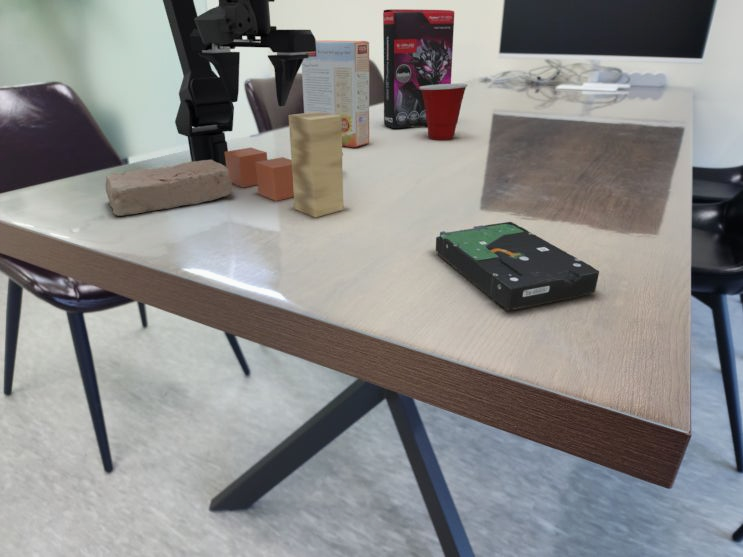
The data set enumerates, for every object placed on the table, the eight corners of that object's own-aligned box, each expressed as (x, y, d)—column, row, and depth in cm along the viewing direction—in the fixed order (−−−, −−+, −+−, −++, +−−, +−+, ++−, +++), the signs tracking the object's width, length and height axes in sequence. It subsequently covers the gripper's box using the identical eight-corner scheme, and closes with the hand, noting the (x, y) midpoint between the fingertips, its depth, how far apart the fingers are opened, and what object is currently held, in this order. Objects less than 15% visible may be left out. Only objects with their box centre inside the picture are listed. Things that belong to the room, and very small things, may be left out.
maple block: (294, 209, 72) (288, 115, 67) (322, 201, 75) (318, 111, 70) (315, 217, 69) (310, 119, 63) (343, 209, 72) (341, 115, 66)
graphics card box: (392, 130, 128) (394, 8, 116) (380, 125, 134) (381, 9, 122) (449, 125, 135) (457, 9, 122) (436, 121, 140) (442, 10, 128)
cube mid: (258, 193, 79) (255, 162, 77) (285, 187, 82) (282, 157, 80) (275, 201, 76) (272, 168, 73) (303, 194, 79) (301, 162, 76)
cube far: (228, 181, 85) (224, 151, 83) (254, 176, 88) (251, 147, 86) (242, 187, 82) (239, 156, 80) (269, 182, 85) (266, 152, 83)
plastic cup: (431, 131, 126) (434, 80, 121) (471, 136, 121) (475, 83, 115) (408, 138, 118) (410, 84, 113) (449, 144, 113) (453, 87, 107)
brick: (117, 218, 69) (109, 184, 67) (107, 202, 75) (100, 171, 73) (235, 199, 77) (231, 168, 75) (217, 186, 83) (214, 157, 81)
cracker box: (370, 143, 113) (370, 40, 104) (355, 148, 108) (354, 41, 99) (320, 137, 120) (316, 39, 110) (304, 141, 115) (299, 40, 106)
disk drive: (596, 296, 50) (508, 240, 62) (602, 270, 48) (511, 219, 60) (507, 315, 46) (432, 252, 58) (511, 288, 45) (434, 230, 57)
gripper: (150, -18, 67) (171, 106, 74) (261, -24, 59) (272, 116, 66) (212, -13, 76) (225, 97, 82) (315, -17, 67) (320, 105, 74)
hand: (257, 104), depth 76 cm, fingers open, 9 cm apart
